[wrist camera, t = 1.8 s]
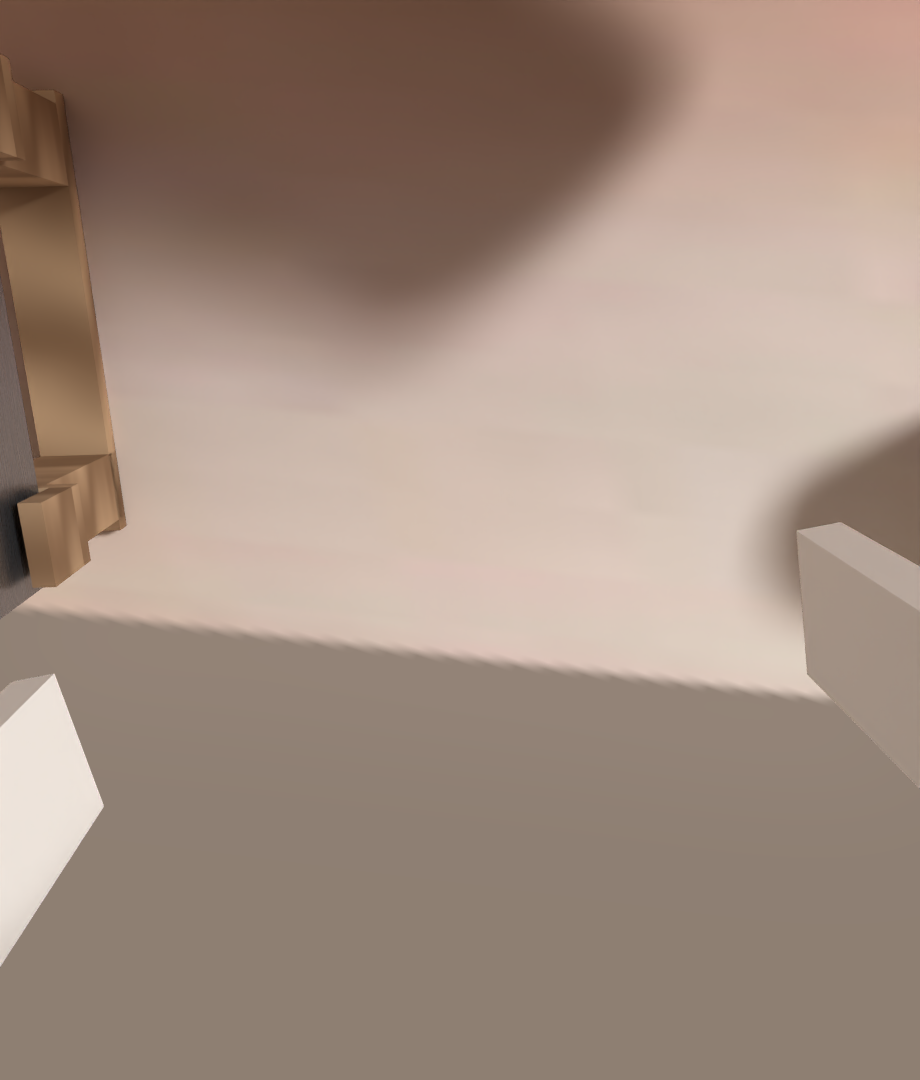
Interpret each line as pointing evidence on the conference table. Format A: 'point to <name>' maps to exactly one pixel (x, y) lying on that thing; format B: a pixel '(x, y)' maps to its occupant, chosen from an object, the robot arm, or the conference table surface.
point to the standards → (55, 336)
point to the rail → (13, 476)
